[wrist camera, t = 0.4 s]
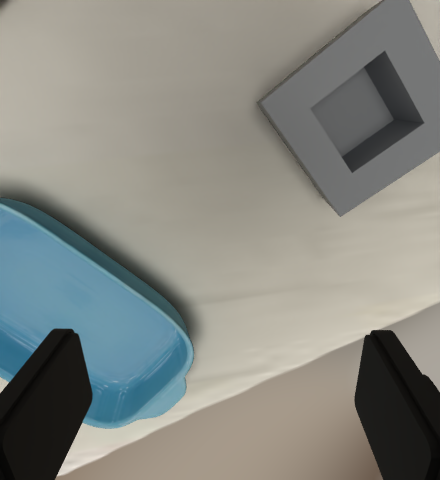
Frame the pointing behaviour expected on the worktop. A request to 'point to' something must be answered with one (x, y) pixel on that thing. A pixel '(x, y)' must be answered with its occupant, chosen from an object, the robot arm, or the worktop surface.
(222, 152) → the worktop surface
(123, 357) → the casserole dish
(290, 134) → the socket
